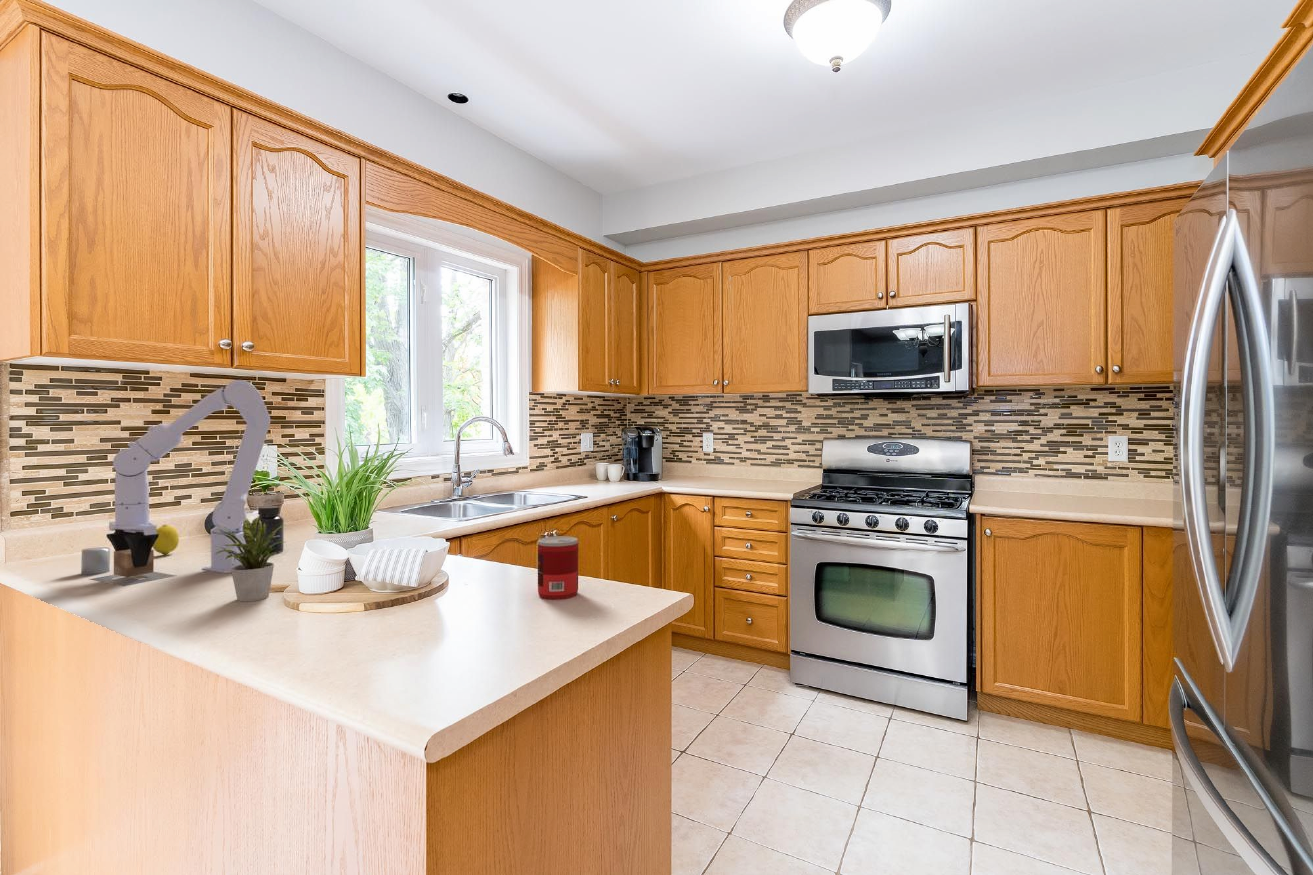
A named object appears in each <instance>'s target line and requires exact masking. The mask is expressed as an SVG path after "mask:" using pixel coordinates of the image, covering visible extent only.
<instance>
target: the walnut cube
mask: <svg viewBox="0 0 1313 875" xmlns="http://www.w3.org/2000/svg"><path fill="white" fill-rule="evenodd" d="M154 552H155V550H154V549H151V552H150V556H149V559H148V563H147V566H142V567H134V565H133V562H132V555H131V550H130V549H127V550H121V551H115V550H114V551H113V575H119V576H124V577H131V576H136V575H141V574H147V573H152V572H155V571H154V570H155V569H154V559H155V558H154V556H155V555H154Z"/></svg>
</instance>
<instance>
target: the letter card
mask: <svg viewBox="0 0 1313 875" xmlns="http://www.w3.org/2000/svg"><path fill="white" fill-rule="evenodd" d="M173 577H177V574H176V575H175V574H170V573H164V572H158V571H157V572H156V571H154V572H152V573H147V574H141V575H136V576H131V577H124V576H119V575H114V574H111V575H104V576H100V577H99V576H98V577H94V578H89V579H88V581H89V580H90V581H95V582H100V583H105V584H109V585H110V584H111V585H116V586H119V587H120V586H121V587H127V586H132V585H138V584H143V583H148V582H152V581H157V580H158V581H159V580H164V579H168V578H173Z"/></svg>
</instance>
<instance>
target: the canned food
mask: <svg viewBox="0 0 1313 875" xmlns="http://www.w3.org/2000/svg"><path fill="white" fill-rule="evenodd" d="M578 591H579V540H578V538H577V537H573V536H567V535H562V536H561V535H557V536H546V537H541V538H539V539H538V540H537V592H538V595H539V597H540V598H541V599H544V600H545V599H546V600H564V599H565V600H566V599H570V598H573V597H575V596H577V594H578Z"/></svg>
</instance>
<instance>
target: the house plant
mask: <svg viewBox="0 0 1313 875" xmlns="http://www.w3.org/2000/svg"><path fill="white" fill-rule="evenodd" d="M259 516H260V515H258V516H257V517H255V518H254V519H252V521H250V520H249V519H248V518H246V517H245V521H244V522H243V533H244V535H243V537H244V539H245V542H246V544H242V543H241V541H240V540H239V539H238V538H237V537H236V536H235V535H234V534H233V533H232V532H231V531H230V530H229V529H227V528H226V527H224V526H222V527H224V528H226V529H227V530H229V531H230V533H231V534H230V533H228V532H229V531H228V532H224V531H220V532H224V533H226V534H228V535H226V534H219V535H225V536H226V537H228V538H229V539H231V540H232V541H233V542H234V544H225V546H236V547H237V548H238V549H239V550H240V552H241V553H236V552H235V551H232V550H226V549H225V548H222V547H220V548H222V549H224V550H222V551H219V552H217V553H216V554H218V553H220V552H224V551H226V552H227V553H229V554H230V555H228V556H227V557H226V559H227V558H229V557H232V556H233V557H234V561H235V559H237V560H238V561H239V562H241V563H242V564H241V565H237V566H234V567H232V568H231V572H230V573H231V576H232V581H233V585H234V590H235V596H236V601H238V602H254V601H260V600H264V599H267V598H269V596H270V591H271V586H272V578H273V574H274V573H273V572H274V567H275V564H274V562H269V561H268V560H269V559H270V558H271V557H272V556H274V555H275V554H278V552H273V553H271V554H269V553H270V551H271V550H272V546H273V545H275V544H277V543H275V544H273V545H271V546H270V547H268V548H267V550H266V551H265V552H264V554H262V553H263V551H264V550H265V548H266V546H267V545H268V543H269V542H270V540H271V538H272V537H273V535H274V534H275V533H276V531H277V530H278V529H279V528H280V527H279V528H277V529H276V530H274V531H273V532H272V533H271V534H270V535H269V536H268V537H267V538H266V540H265V542H264V543H263V540H264V536H265V533H266V525H265V522H264V524H263V528H262V524H261V521H260V520H259V525H258V533H257V538H256V541H255V534H256V527H257V522H258V518H259ZM210 525H214V526H215V524H214V523H212V524H210ZM283 525H284V526H285V523H284V524H283ZM283 525H282V526H283ZM219 526H221V525H219ZM282 526H281V527H282ZM219 530H222V529H219ZM227 530H226V531H227ZM229 535H230V536H231V537H230V536H229ZM233 538H234V539H235V540H236V541H237V542H238V543H237V542H236V541H235V540H234V539H233ZM278 543H282V542H278ZM284 543H286V544H287V542H286V541H284ZM262 544H263V546H262ZM214 547H218V546H214ZM240 547H241V548H242V549H243V550H244V552H245V553H244V552H243V551H242V549H241V548H240ZM231 551H232V552H231ZM234 552H235V553H234ZM231 553H232V554H233V555H232V554H231ZM279 553H281V554H283V551H282V552H281V551H280V552H279ZM216 554H215V555H216ZM242 555H243V556H242ZM245 555H246V556H245ZM238 558H239V559H240V560H241V561H240V560H239V559H238ZM226 559H225V560H226Z"/></svg>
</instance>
